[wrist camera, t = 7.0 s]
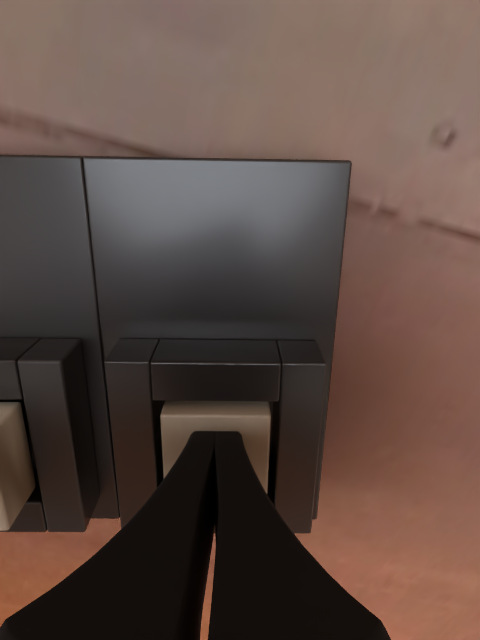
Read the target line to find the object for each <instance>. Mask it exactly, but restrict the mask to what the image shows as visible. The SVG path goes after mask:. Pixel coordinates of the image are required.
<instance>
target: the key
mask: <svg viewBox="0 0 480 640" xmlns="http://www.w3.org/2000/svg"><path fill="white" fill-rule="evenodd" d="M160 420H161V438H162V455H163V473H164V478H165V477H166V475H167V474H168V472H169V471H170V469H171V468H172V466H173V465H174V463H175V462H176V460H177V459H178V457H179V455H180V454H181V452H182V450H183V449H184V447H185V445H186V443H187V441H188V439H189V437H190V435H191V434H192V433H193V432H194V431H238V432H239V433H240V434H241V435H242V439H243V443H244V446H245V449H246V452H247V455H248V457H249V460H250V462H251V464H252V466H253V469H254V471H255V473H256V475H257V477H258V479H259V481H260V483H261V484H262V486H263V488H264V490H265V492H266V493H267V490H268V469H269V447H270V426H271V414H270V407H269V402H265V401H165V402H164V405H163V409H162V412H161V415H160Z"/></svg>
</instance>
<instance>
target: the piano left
mask: <svg viewBox="0 0 480 640" xmlns="http://www.w3.org/2000/svg"><path fill="white" fill-rule="evenodd" d="M83 157H85V156H48V155H0V402H20V403H21V407H22V413H23V418H24V424H25V429H26V434H27V440H28V445H29V451H30V456H31V461H32V467H33V472H34V478H35V483H36V486H35V488H34V490H33V492H32V493H31V495H30V497H29V498H28V500H27V501H26V503H25V505H24V506H23V508H22V509H21V511H20V513H19V514H18V516H17V518H16V519H15V521H14V522H13V524H12V526H11V527H10V529H9V530H6V531H0V532H46V531H47V530H48V531H49V532H85V531H86V529H87V526H88V524H89V521H90V519H91V518H111V519H118V518H119V517H120V512H119V503H118V493H117V483H116V474H115V464H114V455H113V445H112V435H111V426H110V416H109V407H108V397H107V387H106V378H105V368H104V359H103V349H102V339H101V330H100V320H99V311H98V301H97V291H96V282H95V272H94V263H93V253H92V243H91V234H90V224H89V215H88V205H87V195H86V186H85V176H84V167H83Z"/></svg>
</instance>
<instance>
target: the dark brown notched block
mask: <svg viewBox="0 0 480 640" xmlns="http://www.w3.org/2000/svg"><path fill="white" fill-rule="evenodd" d="M351 166H352V163H351V161H349V160H290V159H230V158H169V157H109V156H85V157H83V167H84V176H85V186H86V195H87V205H88V215H89V224H90V234H91V243H92V253H93V263H94V272H95V282H96V291H97V301H98V311H99V320H100V330H101V339H102V349H103V359H104V368H105V378H106V387H107V397H108V407H109V416H110V426H111V435H112V445H113V455H114V464H115V474H116V483H117V493H118V503H119V512H120V520H121V529H122V528H123V527H124V526H125V525H126V524H127V523H128V522H129V521H130V520H131V519H132V518H133V517H134V515H135V514H136V513H137V512H138V511H139V510H140V509H141V507H142V506H143V505H144V504H145V503H146V502H147V500H148V499H149V498H150V496H151V495H152V494H153V493H154V491H155V490H156V489H157V487H158V486H159V485H160V484H161V482H162V481H163V480H164V473H163V455H162V438H161V420H160V415H161V412H162V409H163V405H164V402H165V401H265V402H269V407H270V414H271V426H270V447H269V469H268V490H267V495H268V497H269V498H270V500H271V502H272V503H273V505H274V507H275V508H276V510H277V511H278V513H279V514H280V516H281V517H282V519H283V520H284V521H285V523H286V524H287V526H288V527H289V528H290V530H291V531H292V532H293V533H311V526H312V519H316V518H317V510H318V500H319V490H320V480H321V470H322V459H323V449H324V439H325V429H326V419H327V409H328V399H329V389H330V379H331V369H332V358H333V348H334V338H335V328H336V318H337V308H338V298H339V288H340V278H341V267H342V257H343V247H344V237H345V227H346V217H347V207H348V197H349V187H350V177H351ZM214 533H215V528H214Z"/></svg>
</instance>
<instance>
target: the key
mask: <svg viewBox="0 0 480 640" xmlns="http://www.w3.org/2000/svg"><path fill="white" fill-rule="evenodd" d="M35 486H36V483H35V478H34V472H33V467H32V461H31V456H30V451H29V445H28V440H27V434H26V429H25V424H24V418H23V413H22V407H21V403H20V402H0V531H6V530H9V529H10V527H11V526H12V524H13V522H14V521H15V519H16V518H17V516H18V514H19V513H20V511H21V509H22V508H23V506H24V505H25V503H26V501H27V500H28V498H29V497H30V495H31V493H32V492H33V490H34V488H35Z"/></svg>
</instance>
